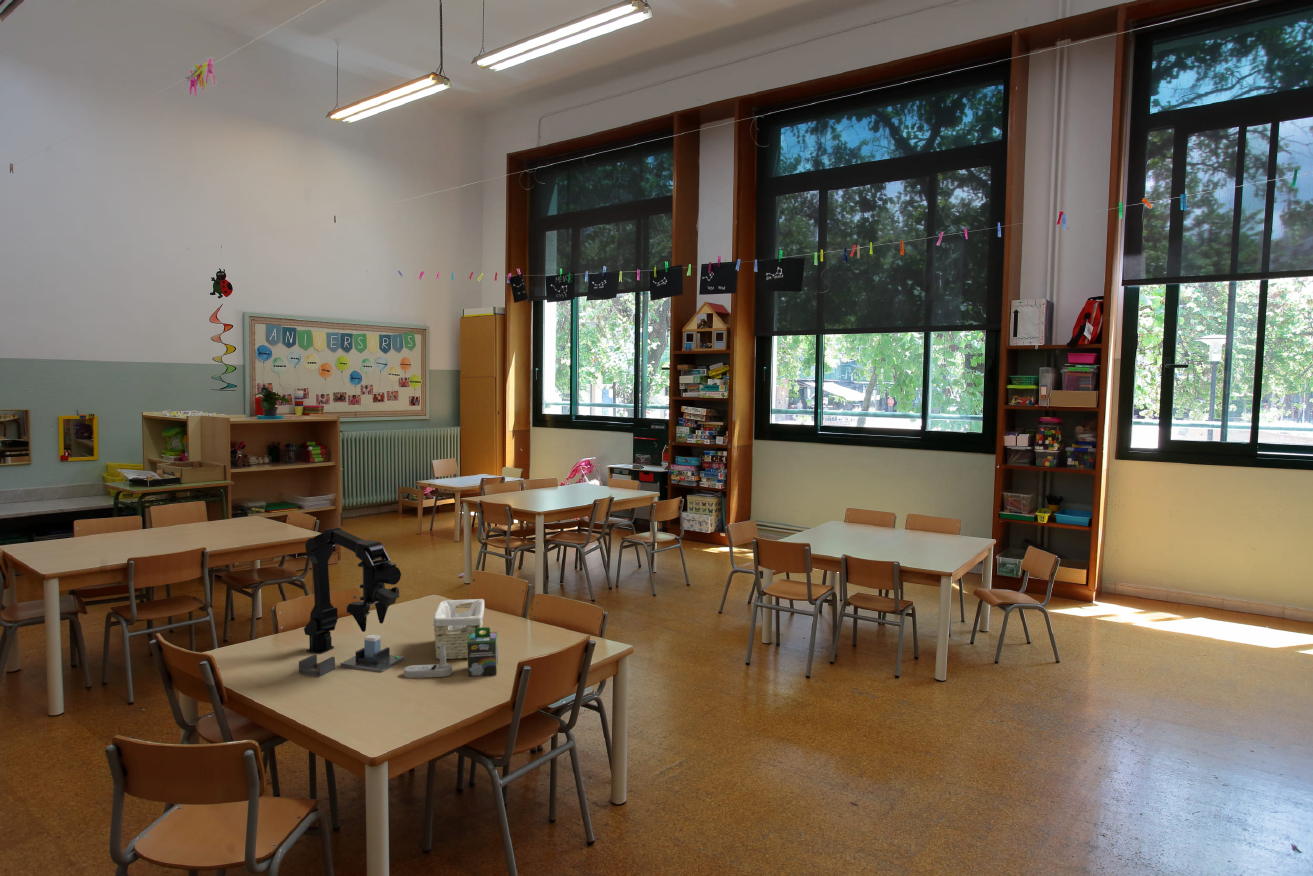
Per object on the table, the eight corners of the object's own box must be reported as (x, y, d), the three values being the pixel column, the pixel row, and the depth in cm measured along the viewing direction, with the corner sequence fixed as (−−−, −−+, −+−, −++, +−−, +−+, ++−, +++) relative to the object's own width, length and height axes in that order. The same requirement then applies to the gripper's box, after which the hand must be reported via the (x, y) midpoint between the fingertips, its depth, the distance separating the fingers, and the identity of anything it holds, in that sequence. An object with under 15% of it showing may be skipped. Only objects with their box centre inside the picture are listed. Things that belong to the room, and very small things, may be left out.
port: (340, 666, 253) (340, 653, 253) (363, 654, 264) (363, 641, 264) (382, 672, 248) (382, 658, 248) (404, 659, 260) (404, 646, 260)
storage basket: (440, 639, 282) (439, 599, 281) (485, 637, 285) (485, 597, 284) (432, 662, 258) (432, 618, 257) (482, 660, 261) (482, 617, 260)
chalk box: (498, 665, 256) (498, 621, 255) (496, 675, 247) (496, 630, 246) (469, 666, 254) (469, 622, 253) (467, 677, 245) (467, 631, 244)
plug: (364, 660, 256) (364, 637, 255) (370, 657, 258) (370, 634, 258) (375, 662, 254) (374, 638, 254) (380, 659, 257) (380, 635, 257)
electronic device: (405, 643, 249) (452, 642, 249) (406, 673, 249) (453, 671, 250) (400, 649, 243) (448, 647, 244) (402, 679, 244) (450, 678, 245)
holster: (298, 673, 246) (298, 661, 246) (314, 666, 253) (314, 654, 253) (320, 676, 244) (319, 664, 244) (335, 669, 251) (334, 657, 250)
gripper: (375, 589, 243) (375, 638, 244) (409, 576, 261) (410, 621, 262) (345, 587, 246) (346, 635, 248) (381, 573, 264) (382, 618, 265)
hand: (372, 627), depth 256 cm, fingers open, 9 cm apart
